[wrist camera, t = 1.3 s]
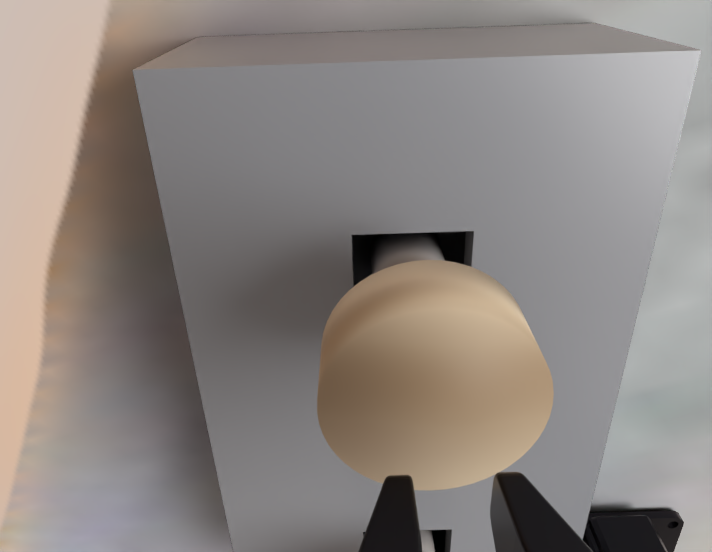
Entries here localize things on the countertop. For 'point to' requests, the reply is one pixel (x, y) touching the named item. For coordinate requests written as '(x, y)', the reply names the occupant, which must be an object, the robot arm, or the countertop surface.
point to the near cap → (430, 370)
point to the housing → (406, 215)
